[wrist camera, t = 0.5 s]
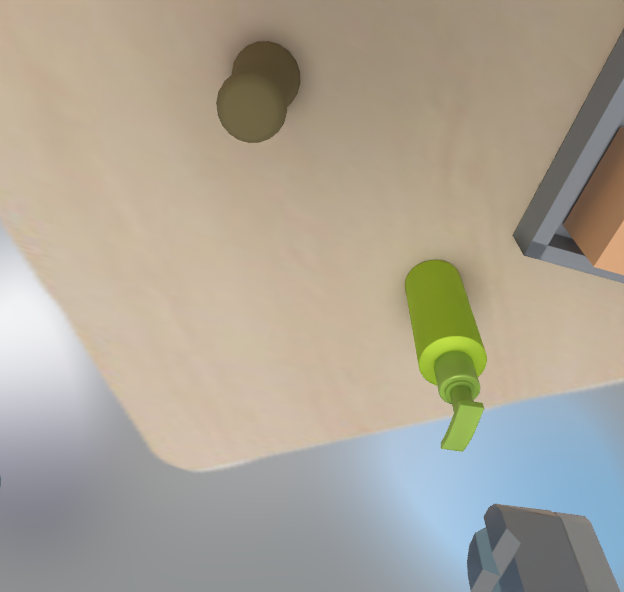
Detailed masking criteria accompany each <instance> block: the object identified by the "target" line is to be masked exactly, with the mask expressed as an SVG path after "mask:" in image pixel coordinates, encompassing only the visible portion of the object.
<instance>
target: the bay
mask: <svg viewBox="0 0 624 592" xmlns="http://www.w3.org/2000/svg"><path fill="white" fill-rule="evenodd" d="M620 127H624V30H623V32H622V34H621V36H620V37H619V39H618V41H617V43H616V45H615V47H614V49H613V50H612V52H611V54H610V56H609V58H608V60H607V62H606V63H605V65H604V67H603V69H602V71H601V73H600V75H599V76H598V78H597V80H596V82H595V84H594V86H593V88H592V89H591V91H590V93H589V95H588V97H587V99H586V101H585V102H584V104H583V106H582V108H581V110H580V112H579V114H578V115H577V117H576V119H575V121H574V123H573V125H572V127H571V128H570V130H569V132H568V134H567V136H566V138H565V140H564V141H563V143H562V145H561V147H560V149H559V151H558V153H557V154H556V156H555V158H554V160H553V162H552V164H551V166H550V167H549V169H548V171H547V173H546V175H545V177H544V179H543V181H542V182H541V184H540V186H539V188H538V190H537V192H536V194H535V195H534V197H533V199H532V201H531V203H530V205H529V207H528V208H527V210H526V212H525V214H524V216H523V218H522V220H521V221H520V223H519V225H518V227H517V229H516V231H515V233H514V234H513V237H514V238H515V240H516V242H517V244H518V246H519V247H520V249H521V251H522V253H523V255H524V256H528V257H531V258H535V259H539V260H542V261H546V262H549V263H553V264H557V265H560V266H564V267H567V268H571V269H575V270H578V271H582V272H585V273H589V274H593V275H596V276H600V277H603V278H607V279H611V280H614V281H618V282H621V283H624V275H621V274H617V273H614V272H610V271H607V270H603V269H599V268H596V267H593V265H592V264H591V263H590V261H589V260H588V259H587V257H586V256H585V255H584V253H583V252H582V251H581V249H580V248H579V246H578V245H577V244H576V242H575V241H574V240H573V238H572V237H571V236H570V234H569V233H568V231H567V230H566V229H565V227H564V226H563V224H564V222H565V221H566V219H567V217H568V216H569V214H570V212H571V211H572V209H573V207H574V205H575V204H576V202H577V200H578V199H579V197H580V195H581V194H582V192H583V190H584V188H585V187H586V185H587V183H588V182H589V180H590V178H591V177H592V175H593V173H594V171H595V170H596V168H597V166H598V165H599V163H600V161H601V159H602V158H603V156H604V154H605V153H606V151H607V149H608V148H609V146H610V144H611V142H612V141H613V139H614V137H615V136H616V134H617V132H618V131H619V129H620Z"/></svg>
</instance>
